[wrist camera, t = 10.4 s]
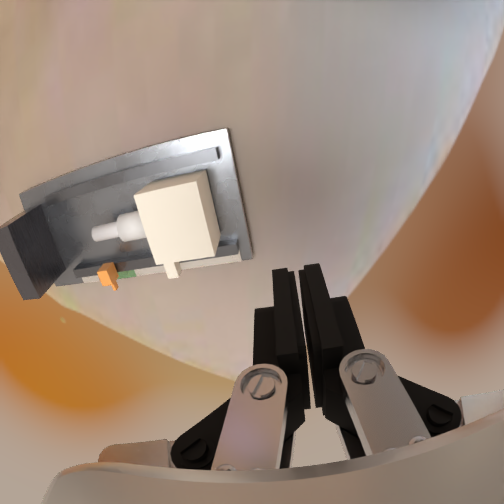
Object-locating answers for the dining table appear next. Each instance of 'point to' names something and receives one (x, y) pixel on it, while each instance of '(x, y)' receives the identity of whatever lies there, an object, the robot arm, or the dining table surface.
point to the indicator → (108, 275)
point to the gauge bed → (110, 207)
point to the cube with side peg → (170, 221)
